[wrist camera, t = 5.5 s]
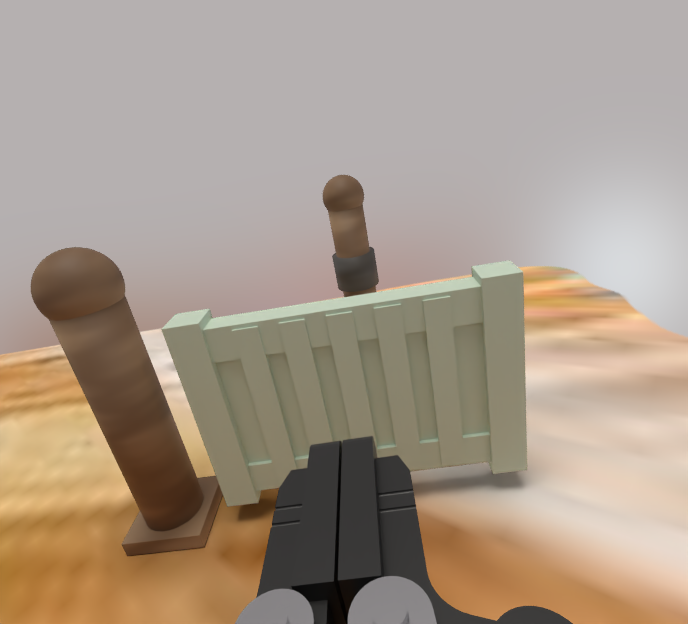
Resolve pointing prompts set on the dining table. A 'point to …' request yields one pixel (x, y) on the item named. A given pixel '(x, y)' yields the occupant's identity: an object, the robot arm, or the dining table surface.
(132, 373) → the hinge post
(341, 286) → the post
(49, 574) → the dining table surface
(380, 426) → the gate
